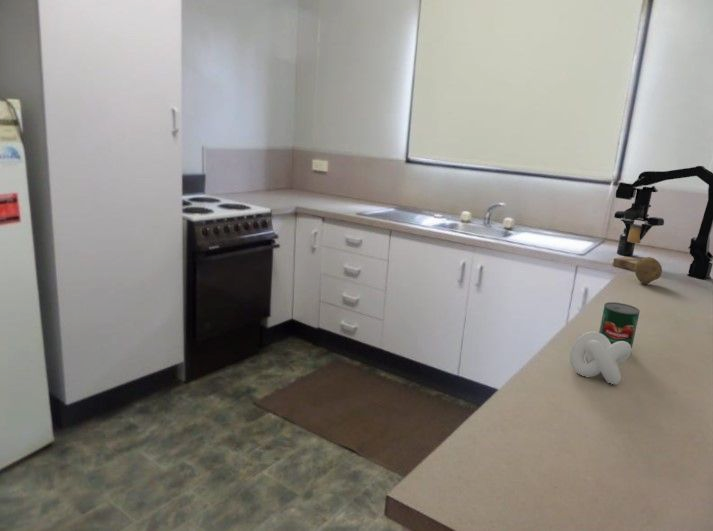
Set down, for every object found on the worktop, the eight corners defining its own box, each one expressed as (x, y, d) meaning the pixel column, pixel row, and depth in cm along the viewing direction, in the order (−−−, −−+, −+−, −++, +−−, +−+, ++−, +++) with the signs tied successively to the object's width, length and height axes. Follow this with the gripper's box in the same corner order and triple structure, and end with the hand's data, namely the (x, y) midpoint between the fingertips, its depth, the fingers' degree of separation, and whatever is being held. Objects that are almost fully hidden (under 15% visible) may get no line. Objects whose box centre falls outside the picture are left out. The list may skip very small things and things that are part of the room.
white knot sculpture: (635, 394, 113) (645, 353, 111) (574, 385, 115) (582, 345, 112) (620, 371, 124) (628, 333, 121) (564, 363, 125) (571, 326, 123)
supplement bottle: (634, 257, 249) (640, 231, 246) (618, 255, 250) (623, 229, 247) (630, 253, 256) (635, 228, 253) (614, 252, 257) (619, 226, 254)
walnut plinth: (648, 269, 226) (650, 262, 226) (635, 271, 221) (637, 264, 220) (625, 263, 234) (627, 256, 233) (612, 265, 229) (614, 258, 228)
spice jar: (642, 242, 233) (646, 226, 231) (636, 243, 230) (639, 226, 228) (631, 240, 237) (634, 223, 235) (624, 240, 234) (627, 224, 232)
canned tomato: (621, 344, 140) (629, 303, 137) (637, 357, 132) (646, 313, 130) (590, 342, 140) (598, 301, 137) (605, 355, 132) (614, 311, 129)
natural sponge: (644, 279, 209) (649, 254, 206) (664, 286, 201) (670, 260, 198) (626, 280, 205) (631, 254, 203) (646, 287, 197) (652, 260, 195)
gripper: (610, 198, 232) (603, 234, 236) (654, 205, 217) (645, 244, 221) (625, 198, 238) (617, 233, 242) (668, 205, 224) (660, 242, 228)
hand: (634, 238), depth 233 cm, fingers closed on spice jar, 5 cm apart
